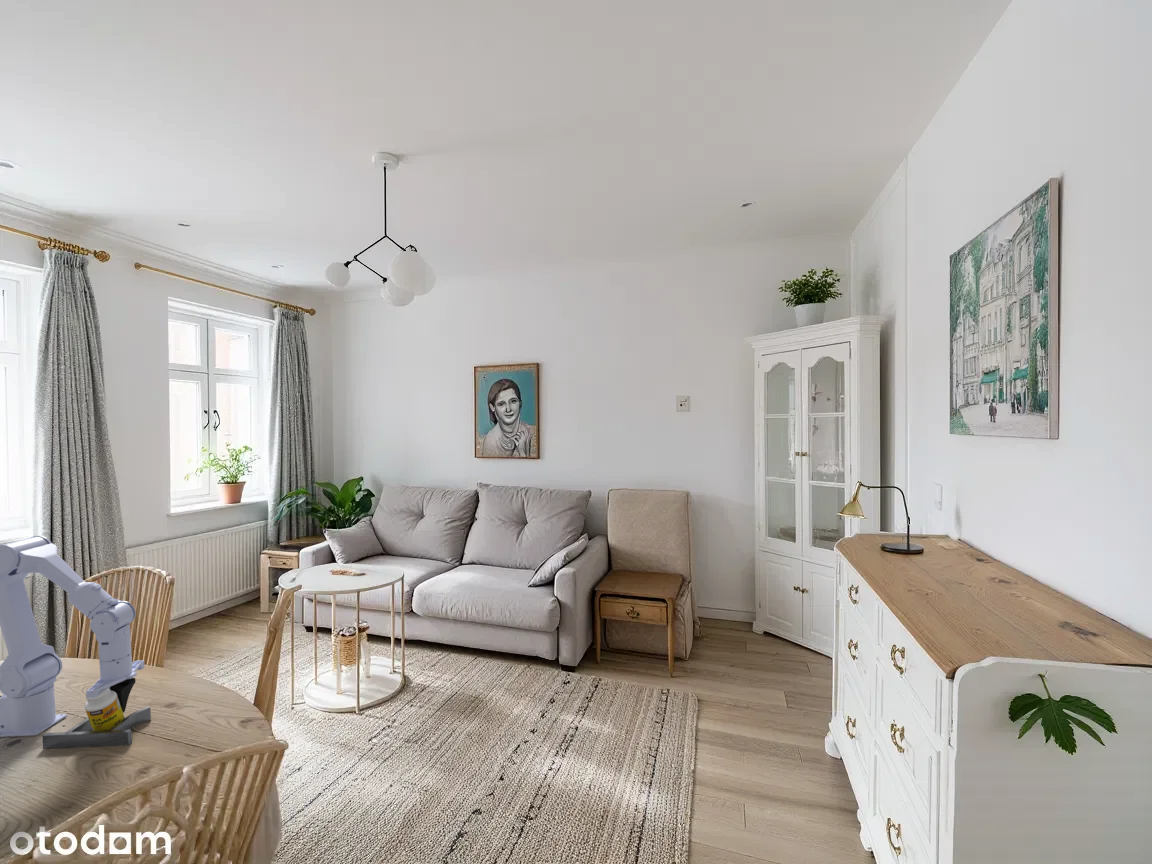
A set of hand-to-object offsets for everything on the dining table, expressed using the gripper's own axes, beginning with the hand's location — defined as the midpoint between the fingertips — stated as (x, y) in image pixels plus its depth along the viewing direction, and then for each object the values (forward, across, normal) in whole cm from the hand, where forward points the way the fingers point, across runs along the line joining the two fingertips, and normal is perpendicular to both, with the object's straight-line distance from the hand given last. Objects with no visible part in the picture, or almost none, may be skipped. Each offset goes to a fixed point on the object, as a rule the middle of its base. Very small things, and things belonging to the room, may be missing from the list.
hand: (118, 712), depth 127 cm
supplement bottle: (+2, -3, 0) cm, 3 cm away
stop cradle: (+2, -4, 0) cm, 5 cm away
